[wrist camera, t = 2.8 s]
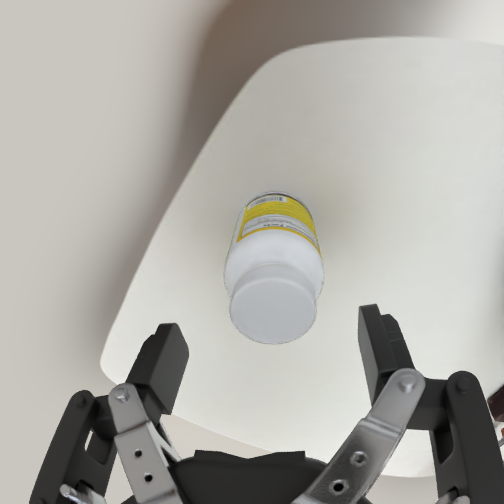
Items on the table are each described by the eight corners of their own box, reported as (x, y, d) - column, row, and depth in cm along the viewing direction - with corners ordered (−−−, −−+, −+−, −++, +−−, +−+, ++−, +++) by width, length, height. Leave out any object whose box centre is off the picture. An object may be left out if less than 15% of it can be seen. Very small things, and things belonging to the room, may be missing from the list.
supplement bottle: (283, 269, 24) (281, 368, 15) (225, 231, 23) (191, 321, 14) (328, 218, 21) (355, 306, 13) (267, 174, 20) (255, 240, 12)
